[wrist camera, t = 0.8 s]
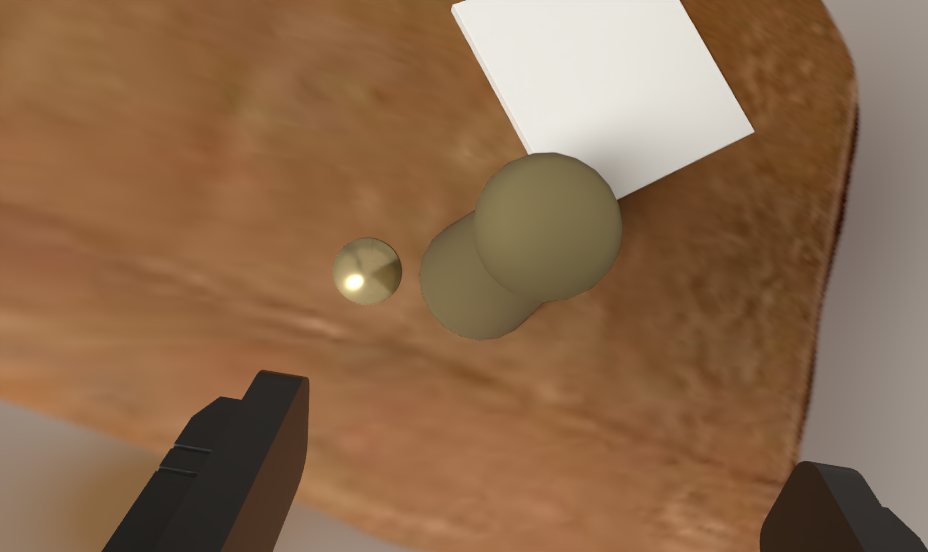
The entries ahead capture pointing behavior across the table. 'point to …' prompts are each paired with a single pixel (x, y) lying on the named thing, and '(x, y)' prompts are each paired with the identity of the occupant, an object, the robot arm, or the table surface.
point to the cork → (522, 246)
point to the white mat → (605, 83)
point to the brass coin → (367, 271)
